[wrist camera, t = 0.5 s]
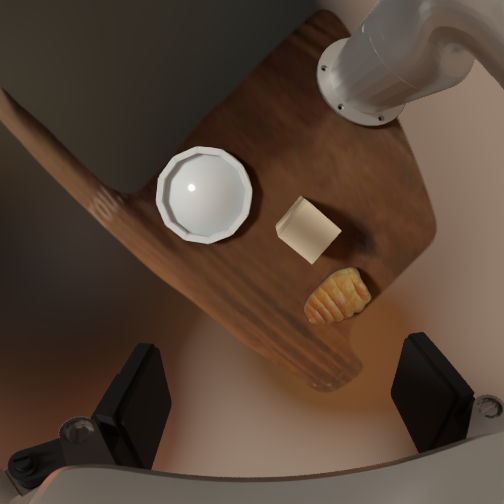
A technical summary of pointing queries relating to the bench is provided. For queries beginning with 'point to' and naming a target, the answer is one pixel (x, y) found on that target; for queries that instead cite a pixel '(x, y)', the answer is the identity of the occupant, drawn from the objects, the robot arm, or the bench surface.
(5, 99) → the bench surface
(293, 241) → the maple block
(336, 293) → the pastry
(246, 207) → the dish
